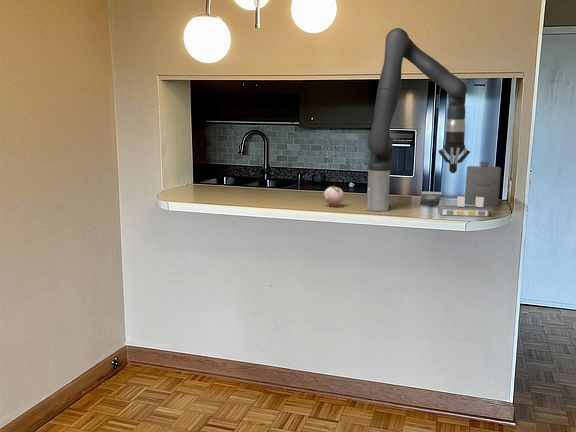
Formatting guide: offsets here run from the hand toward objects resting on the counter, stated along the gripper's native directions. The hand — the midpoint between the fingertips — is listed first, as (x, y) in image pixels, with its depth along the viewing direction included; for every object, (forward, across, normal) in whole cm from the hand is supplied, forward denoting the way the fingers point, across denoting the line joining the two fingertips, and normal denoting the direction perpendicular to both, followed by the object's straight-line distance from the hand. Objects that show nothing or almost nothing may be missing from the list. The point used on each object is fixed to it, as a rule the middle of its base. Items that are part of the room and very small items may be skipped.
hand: (452, 172), depth 235 cm
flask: (+18, +19, +29) cm, 39 cm away
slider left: (+14, +4, 0) cm, 14 cm away
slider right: (+14, +11, 0) cm, 18 cm away
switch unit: (+17, +5, 0) cm, 18 cm away
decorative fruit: (+17, -49, +10) cm, 53 cm away
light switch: (+17, -6, +17) cm, 25 cm away
